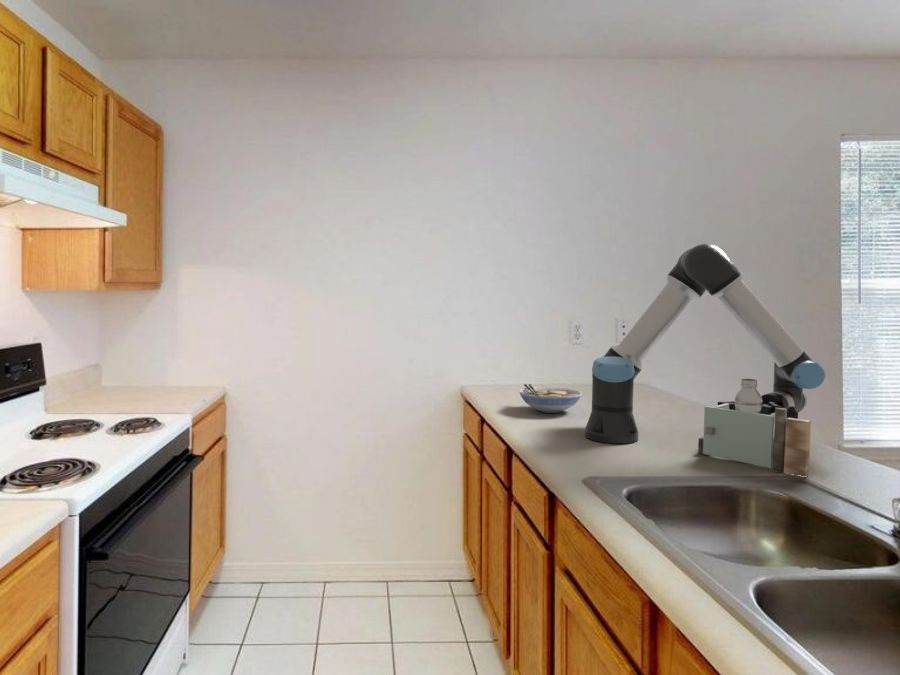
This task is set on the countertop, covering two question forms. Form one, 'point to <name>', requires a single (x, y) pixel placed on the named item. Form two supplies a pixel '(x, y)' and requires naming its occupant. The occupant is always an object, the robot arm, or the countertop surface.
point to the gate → (739, 435)
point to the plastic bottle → (748, 397)
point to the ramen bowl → (550, 398)
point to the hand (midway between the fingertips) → (743, 415)
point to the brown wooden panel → (787, 444)
